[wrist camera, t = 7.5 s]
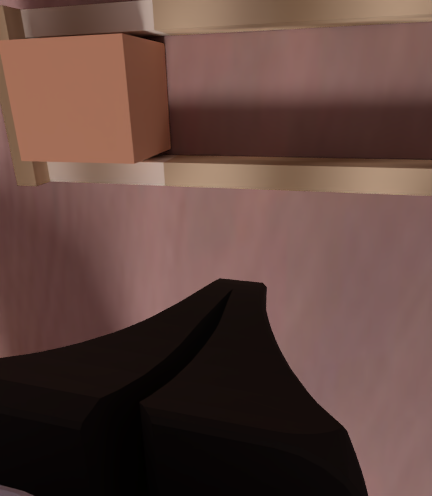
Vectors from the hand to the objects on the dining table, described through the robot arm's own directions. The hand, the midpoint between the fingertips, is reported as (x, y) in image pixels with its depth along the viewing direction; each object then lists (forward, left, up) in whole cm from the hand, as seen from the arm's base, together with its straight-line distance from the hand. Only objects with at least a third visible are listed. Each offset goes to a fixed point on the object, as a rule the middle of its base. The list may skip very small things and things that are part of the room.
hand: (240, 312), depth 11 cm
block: (+8, -5, -9) cm, 13 cm away
